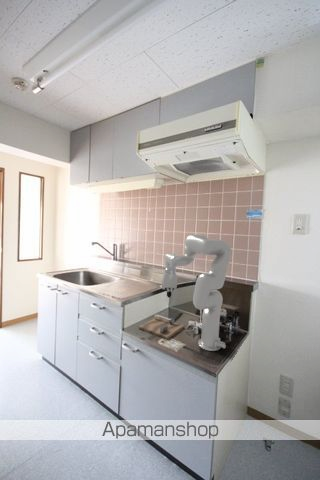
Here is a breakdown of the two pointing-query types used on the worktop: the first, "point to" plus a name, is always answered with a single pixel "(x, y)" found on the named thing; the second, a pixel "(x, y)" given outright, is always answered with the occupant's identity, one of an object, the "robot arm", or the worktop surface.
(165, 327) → the block
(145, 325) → the lock board
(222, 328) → the worktop surface
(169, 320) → the bar
